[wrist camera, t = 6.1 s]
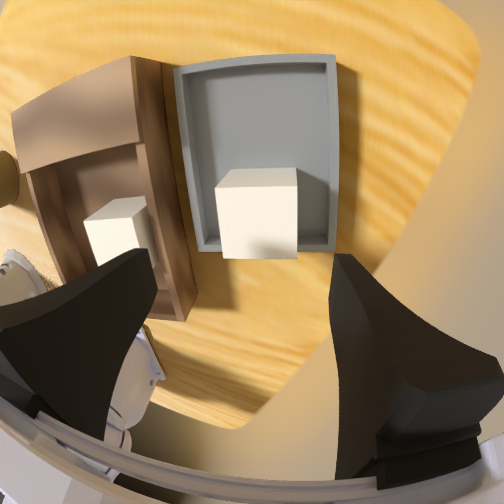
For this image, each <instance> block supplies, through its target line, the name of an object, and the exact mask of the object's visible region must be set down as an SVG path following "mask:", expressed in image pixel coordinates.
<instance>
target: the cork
mask: <svg viewBox="0 0 504 504" xmlns="http://www.w3.org/2000/svg"><path fill="white" fill-rule="evenodd" d="M18 193H19V177H18V172H17V168H16V165H15V163H14V160H13V159H12V157H11V156H10V154H8V153H7V152H6V151H0V208H2V207H4V206H6V205H9V204H11V203H13V202H14V201H15V200H16V199H17V196H18Z"/></svg>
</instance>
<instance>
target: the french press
mask: <svg viewBox="0 0 504 504" xmlns="http://www.w3.org/2000/svg"><path fill="white" fill-rule="evenodd" d="M46 292H48V291H47V289H46V286H45V284H44V282H43V280H42V278H41V277H40V275H39V274H38V272H37V271H36V269H35V268H34V266H33V265H32V264H31V263H30V262H29V261H28V260H27V259H26V258H25V256H24V255H22V254H20V253H19V252H17V251H16V250H7V251H6V252H5V254H4V259H3V264H2V265H1V266H0V306H3V305H8V304H12V303H16V302H19V301H23V300H26V299H29V298H32V297H35V296H38V295H40V294H43V293H46Z"/></svg>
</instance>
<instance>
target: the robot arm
mask: <svg viewBox="0 0 504 504" xmlns="http://www.w3.org/2000/svg"><path fill="white" fill-rule="evenodd" d="M157 292H158V286H157V283H156V279H155V275H154V271H153V268H152V264H151V260H150V256H149V251H148V248H134V249H131V250H129V251H126V252H124V253H122V254H120V255H118V256H117V257H115V258H113V259H111V260H109V261H107V262H106V263H104V264H102V265H100V266H98V267H97V268H95V269H93V270H91V271H89V272H87V273H86V274H84V275H82V276H80V277H78V278H76V279H74V280H73V281H71V282H69V283H66V284H64V285H62V286H60V287H58V288H55V289H53V290H51V291H48V292H46V293H43V294H40V295H38V296H35V297H32V298H29V299H26V300H23V301H19V302H16V303H12V304H8V305H3V306H0V491H1V492H2V493H3V494H4V495H5V498H4V500H3V503H2V504H168V503H165V502H161V501H158V500H155V499H152V498H149V497H147V496H144V495H141V494H138V493H136V492H133V491H130V490H128V489H125V488H122V487H120V486H118V485H116V484H113V483H112V482H113V481H114V479H115V477H116V476H117V475H118V474H119V473H120V472H121V473H123V474H126V475H129V476H131V477H134V478H137V479H140V480H143V481H146V482H149V483H152V484H155V485H158V486H162V487H165V488H169V489H173V490H176V491H180V492H185V493H189V494H193V495H198V496H202V497H207V498H213V499H218V500H225V501H231V502H239V503H248V504H504V432H503V433H501V434H499V435H496V436H494V437H492V438H489V439H488V440H485V441H484V442H482V443H480V444H479V445H478V440H477V436H478V435H480V433H481V427H480V424H479V422H480V421H481V420H482V419H483V418H484V417H485V416H486V415H487V414H488V413H489V412H490V411H491V410H492V409H493V408H494V407H495V406H496V405H497V403H498V402H499V401H500V400H501V399H502V397H503V395H504V373H503V371H502V369H501V367H500V365H499V362H498V361H497V358H496V357H494V356H491V355H489V354H486V353H484V352H481V351H479V350H476V349H474V348H472V347H470V346H468V345H465V344H464V343H462V342H460V341H458V340H456V339H454V338H452V337H450V336H448V335H447V334H445V333H443V332H441V331H440V330H438V329H437V328H435V327H433V326H432V325H430V324H429V323H427V322H426V321H424V320H423V319H422V318H420V317H419V316H417V315H416V314H415V313H413V312H412V311H411V310H409V309H408V308H407V307H406V306H404V305H403V304H402V303H400V302H399V301H398V300H397V299H396V298H395V297H394V296H393V295H392V294H390V293H389V292H388V291H387V290H386V289H385V288H384V287H383V286H382V285H381V284H380V283H379V282H378V281H377V280H376V279H375V278H374V277H373V276H372V275H371V274H370V273H369V272H368V271H367V270H366V269H365V268H364V267H363V266H362V265H361V264H360V263H359V262H358V261H357V260H356V259H355V258H354V257H353V256H352V255H351V254H334V261H333V269H332V277H331V284H330V291H329V298H328V299H329V317H330V326H331V332H332V337H333V343H334V349H335V354H336V361H337V368H338V377H339V435H338V451H337V462H336V472H335V480H329V481H279V480H278V481H277V480H262V479H252V478H242V477H234V476H227V475H221V474H215V473H209V472H204V471H198V470H194V469H189V468H185V467H180V466H176V465H172V464H168V463H165V462H161V461H157V460H154V459H150V458H147V457H144V456H141V455H138V454H135V453H132V452H130V450H131V444H132V443H131V437H130V433H129V432H128V430H126V428H130V427H132V426H134V425H135V424H136V423H138V422H139V421H140V420H141V418H142V417H143V415H144V412H145V410H146V407H147V405H148V403H149V400H150V398H151V395H152V393H153V391H154V388H155V386H156V383H157V381H158V380H162V381H164V380H165V379H166V376H165V374H164V372H163V370H162V368H161V366H160V364H159V362H158V360H157V358H156V356H155V354H154V351H153V349H152V347H151V345H150V343H149V341H148V338H147V336H146V334H145V331H144V329H143V327H142V325H143V323H144V321H145V319H146V317H147V316H148V314H149V312H150V310H151V308H152V305H153V303H154V300H155V297H156V295H157Z"/></svg>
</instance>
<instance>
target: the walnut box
mask: <svg viewBox="0 0 504 504" xmlns="http://www.w3.org/2000/svg"><path fill="white" fill-rule="evenodd" d="M11 120H12V128H13V135H14V142H15V147H16V153H17V158H18V163H19V168H20V172H21V174H23V173H26V178H27V182H28V186H29V190H30V193H31V197H32V201H33V204H34V208H35V211H36V214H37V217H38V221H39V224H40V227H41V230H42V233H43V235H44V238H45V241H46V244H47V247H48V249H49V252H50V254H51V257H52V259H53V262H54V264H55V267H56V269H57V272H58V274H59V276H60V279H61V281H62V283H63V285H64V284H66V283H69V282H71V281H73V280H74V279H76V278H78V277H80V276H82V275H84V274H86V273H87V272H89V271H91V270H93V269H95V268H97V267H98V264H97V261H96V259H95V256H94V253H93V250H92V247H91V244H90V241H89V238H88V235H87V232H86V229H85V225H84V222H83V221H84V220H86V219H87V218H88V217H90V216H91V215H92V214H94V213H95V212H97V211H98V210H99V209H101V208H102V207H104V206H105V205H107V204H108V203H109V202H111V201H112V200H114V199H120V198H129V197H139V196H145V199H146V204H147V209H148V213H149V218H150V222H151V226H152V231H153V235H154V239H155V243H156V247H157V251H158V255H159V258H160V260H159V261H158V262H157V264H156V265H155V266H154V268H153V271H154V275H155V279H156V283H157V286H158V292H157V295H156V297H155V300H154V303H153V305H152V308H151V310H150V312H149V314H148V316H147V317H146V318H150V319H160V320H170V321H181V322H185V321H186V319H187V317H188V315H189V312H190V310H191V308H192V306H193V303H194V301H195V299H196V297H197V295H198V293H197V289H196V284H195V280H194V275H193V271H192V266H191V261H190V257H189V252H188V247H187V242H186V237H185V232H184V227H183V221H182V216H181V210H180V205H179V199H178V193H177V187H176V181H175V175H174V169H173V162H172V155H171V149H170V141H169V134H168V126H167V118H166V110H165V101H164V92H163V82H162V71H161V62H160V61H155V60H150V59H146V58H141V57H135V56H127V57H124V58H122V59H119V60H116V61H113V62H111V63H108V64H105V65H103V66H100V67H98V68H95V69H93V70H91V71H88V72H86V73H84V74H82V75H79V76H77V77H75V78H73V79H71V80H69V81H67V82H65V83H63V84H61V85H59V86H57V87H55V88H53V89H51V90H49V91H47V92H46V93H44V94H42V95H40V96H38V97H37V98H35V99H33V100H32V101H30V102H28V103H27V104H25V105H23V106H22V107H20V108H19V109H17V110H15V111H14V112H12V113H11Z"/></svg>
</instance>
